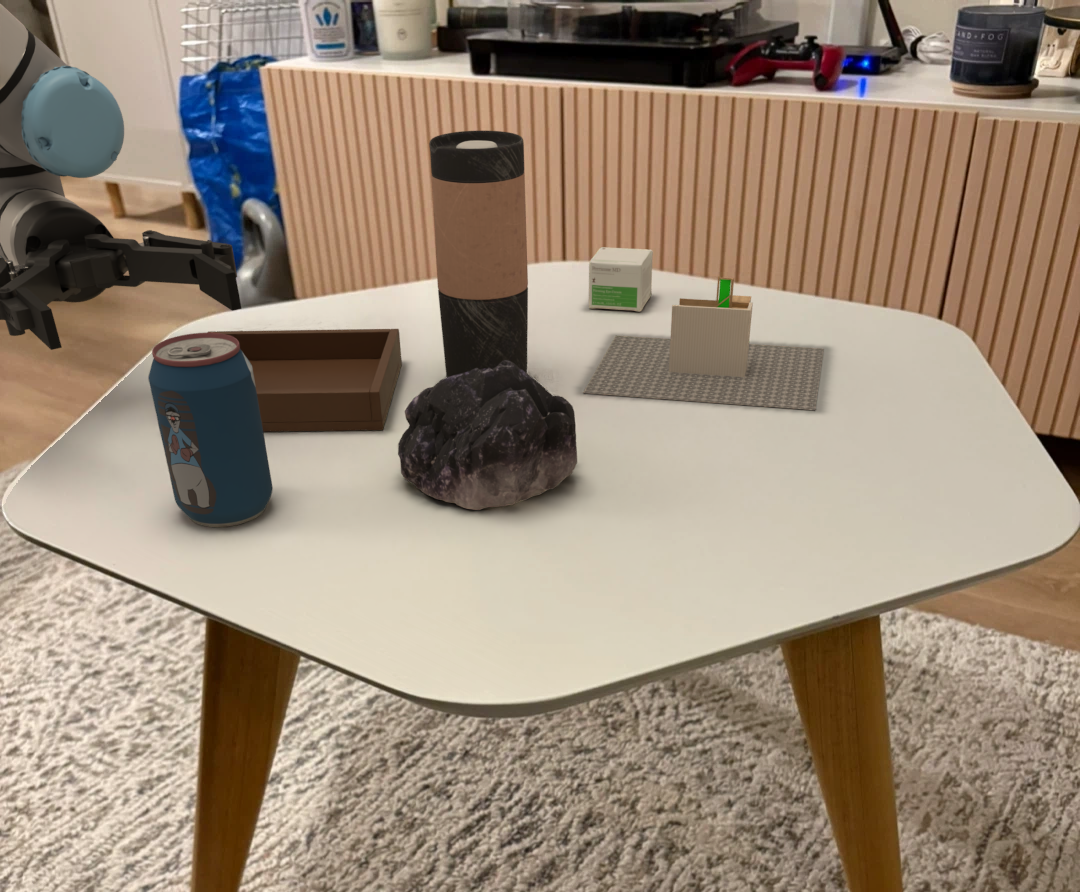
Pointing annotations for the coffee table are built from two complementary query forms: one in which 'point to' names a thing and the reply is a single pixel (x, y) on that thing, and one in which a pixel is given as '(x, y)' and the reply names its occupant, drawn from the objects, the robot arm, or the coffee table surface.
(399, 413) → the coffee table surface
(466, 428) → the crystal cluster
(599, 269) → the small box
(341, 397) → the tray
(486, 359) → the travel mug
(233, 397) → the soda can
